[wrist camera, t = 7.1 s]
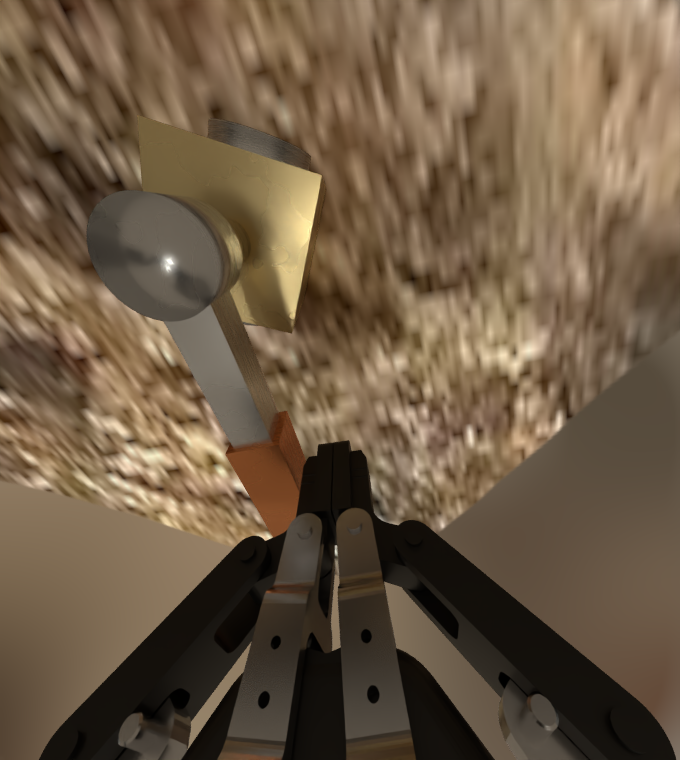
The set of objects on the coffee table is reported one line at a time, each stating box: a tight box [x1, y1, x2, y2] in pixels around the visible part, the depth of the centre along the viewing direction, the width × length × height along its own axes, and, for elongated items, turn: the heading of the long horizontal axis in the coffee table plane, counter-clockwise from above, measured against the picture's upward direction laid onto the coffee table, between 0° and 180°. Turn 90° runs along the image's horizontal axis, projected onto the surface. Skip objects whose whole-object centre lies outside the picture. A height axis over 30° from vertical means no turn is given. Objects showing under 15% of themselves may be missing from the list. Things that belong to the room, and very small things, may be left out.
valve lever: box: [87, 190, 306, 537], centre depth 11 cm, size 15×3×2 cm, turn 12°
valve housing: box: [137, 115, 326, 333], centre depth 14 cm, size 7×9×10 cm
